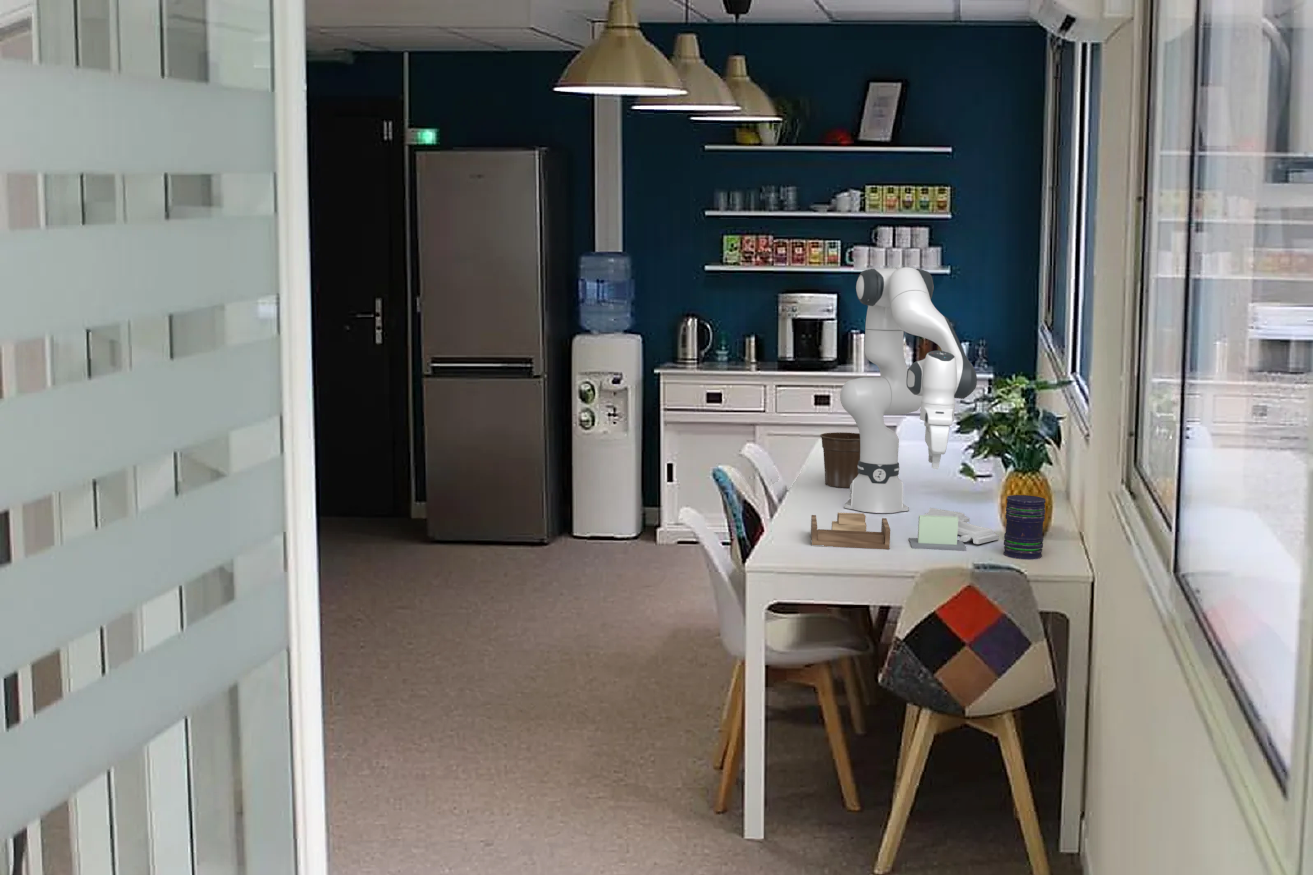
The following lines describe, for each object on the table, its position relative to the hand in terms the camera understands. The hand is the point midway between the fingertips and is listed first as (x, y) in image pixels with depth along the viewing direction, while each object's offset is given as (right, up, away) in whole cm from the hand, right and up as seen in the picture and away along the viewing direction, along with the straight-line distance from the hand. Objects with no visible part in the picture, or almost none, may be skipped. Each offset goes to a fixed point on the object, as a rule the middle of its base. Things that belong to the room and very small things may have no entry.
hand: (933, 465), depth 428 cm
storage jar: (+21, -23, -10) cm, 33 cm away
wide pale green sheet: (+1, -20, 0) cm, 20 cm away
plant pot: (-13, -8, +91) cm, 93 cm away
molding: (+9, -18, +20) cm, 29 cm away
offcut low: (-22, -18, +5) cm, 29 cm away
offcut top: (-21, -15, +5) cm, 27 cm away
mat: (+1, -21, 0) cm, 21 cm away
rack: (-22, -20, +1) cm, 30 cm away
